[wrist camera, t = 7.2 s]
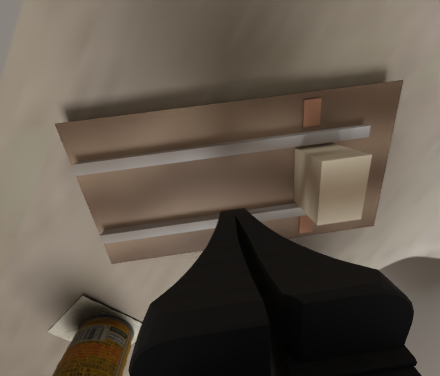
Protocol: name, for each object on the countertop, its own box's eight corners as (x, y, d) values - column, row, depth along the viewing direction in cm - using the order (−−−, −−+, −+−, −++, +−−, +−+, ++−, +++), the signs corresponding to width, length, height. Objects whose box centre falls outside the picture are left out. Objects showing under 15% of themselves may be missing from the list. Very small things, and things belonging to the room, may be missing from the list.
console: (362, 217, 20) (380, 230, 18) (118, 252, 20) (107, 270, 17) (385, 82, 16) (414, 78, 14) (68, 122, 15) (45, 124, 13)
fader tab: (328, 195, 17) (361, 219, 14) (293, 200, 17) (317, 225, 14) (333, 143, 15) (372, 154, 12) (294, 148, 15) (322, 161, 12)
